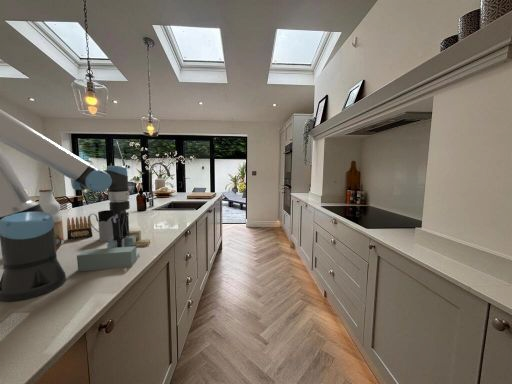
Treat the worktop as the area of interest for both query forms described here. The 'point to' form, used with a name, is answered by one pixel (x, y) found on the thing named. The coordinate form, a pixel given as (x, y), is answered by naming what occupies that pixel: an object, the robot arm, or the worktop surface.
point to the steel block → (128, 242)
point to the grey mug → (104, 224)
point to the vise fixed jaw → (107, 258)
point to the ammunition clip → (78, 229)
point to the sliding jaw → (138, 239)
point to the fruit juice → (52, 210)
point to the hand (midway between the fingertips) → (123, 251)
